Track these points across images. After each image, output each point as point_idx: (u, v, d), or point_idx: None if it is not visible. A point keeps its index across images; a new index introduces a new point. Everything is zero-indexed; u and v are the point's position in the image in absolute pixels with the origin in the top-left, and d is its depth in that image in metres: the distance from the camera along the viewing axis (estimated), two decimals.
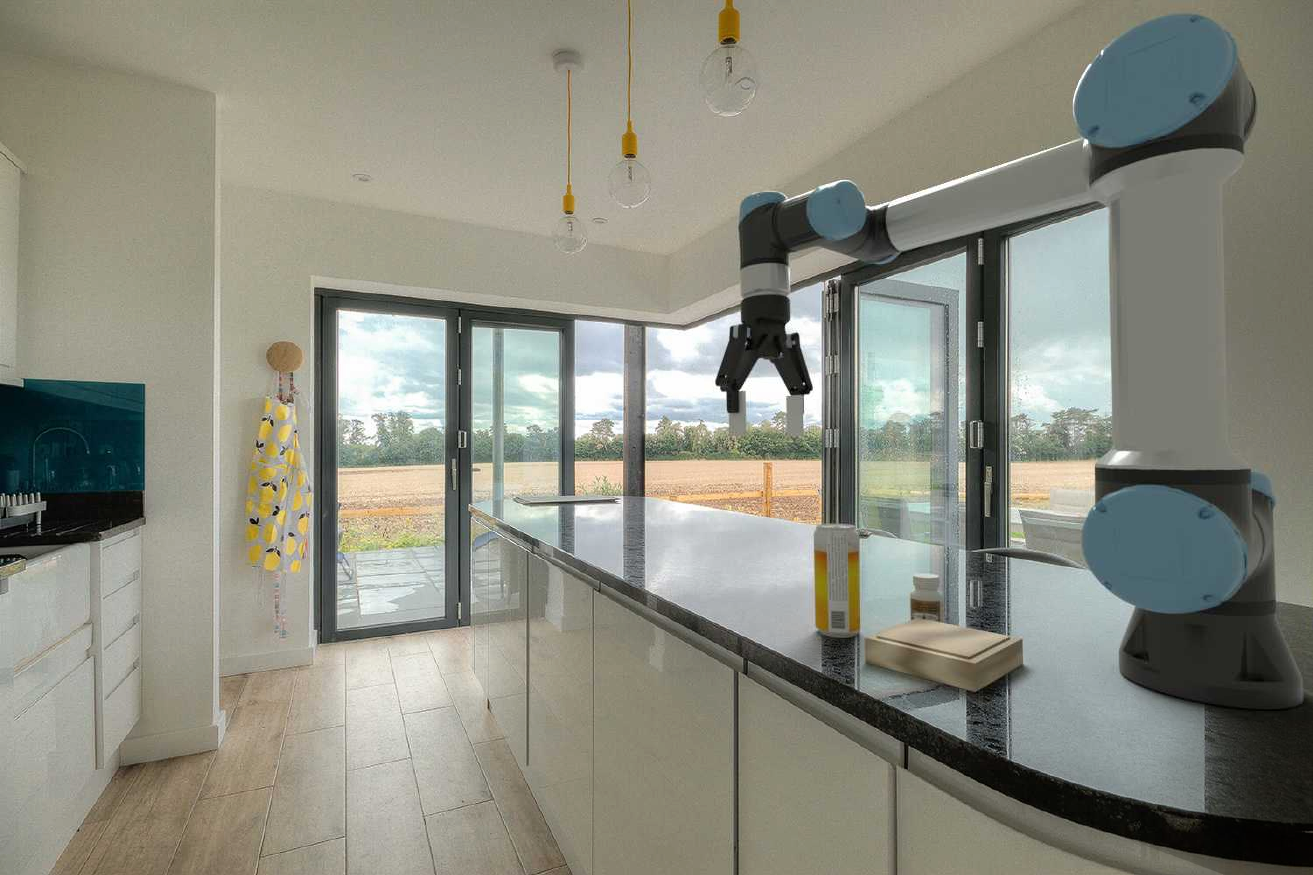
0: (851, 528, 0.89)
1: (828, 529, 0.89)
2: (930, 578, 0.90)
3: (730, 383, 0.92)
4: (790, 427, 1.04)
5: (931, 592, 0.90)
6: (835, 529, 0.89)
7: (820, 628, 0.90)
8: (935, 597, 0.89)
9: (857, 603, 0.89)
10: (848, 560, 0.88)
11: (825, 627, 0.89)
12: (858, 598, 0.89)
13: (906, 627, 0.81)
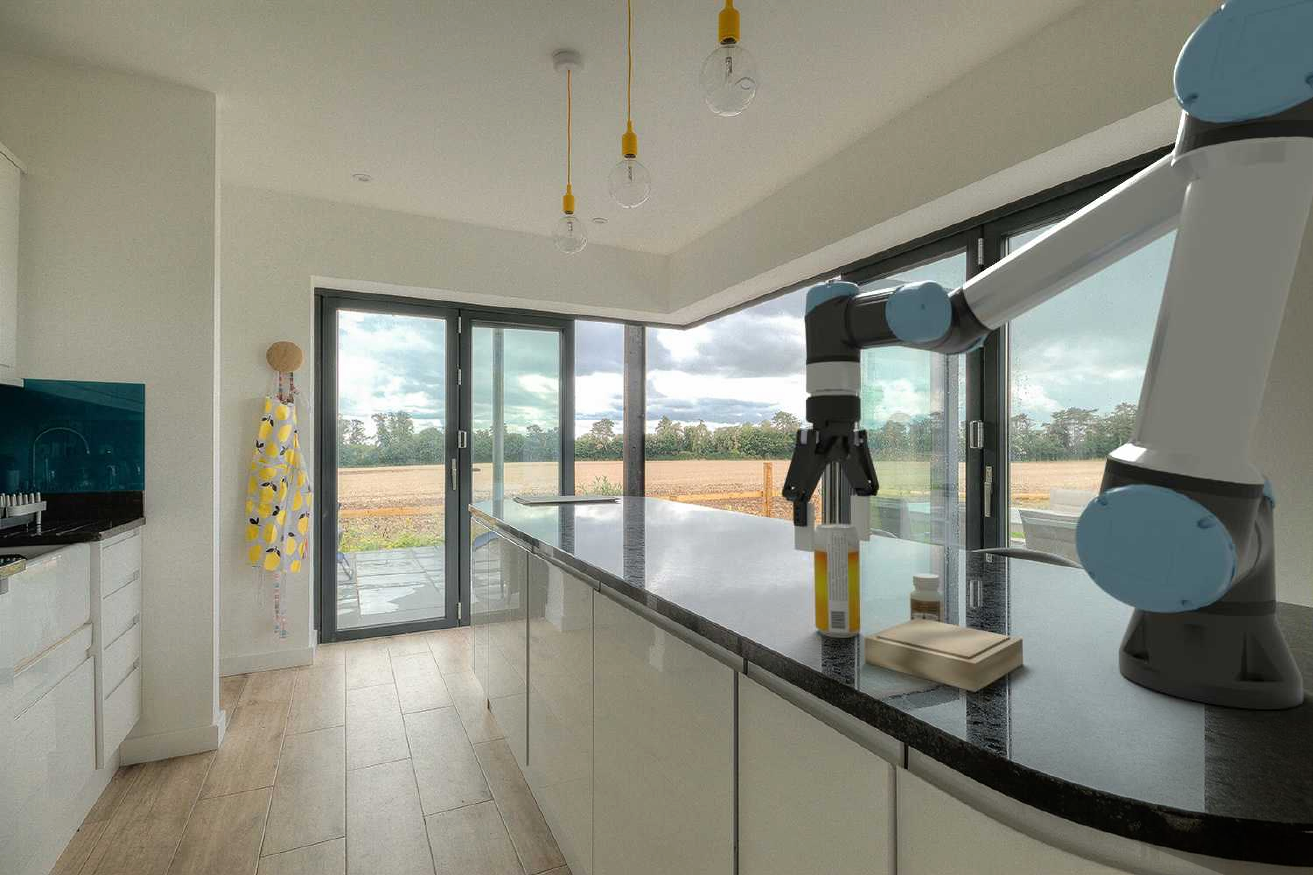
0: (851, 528, 0.89)
1: (828, 529, 0.89)
2: (930, 578, 0.90)
3: (799, 497, 0.84)
4: None
5: (931, 592, 0.90)
6: (835, 529, 0.89)
7: (820, 628, 0.90)
8: (935, 597, 0.89)
9: (857, 603, 0.89)
10: (848, 560, 0.88)
11: (825, 627, 0.89)
12: (858, 598, 0.89)
13: (906, 627, 0.81)
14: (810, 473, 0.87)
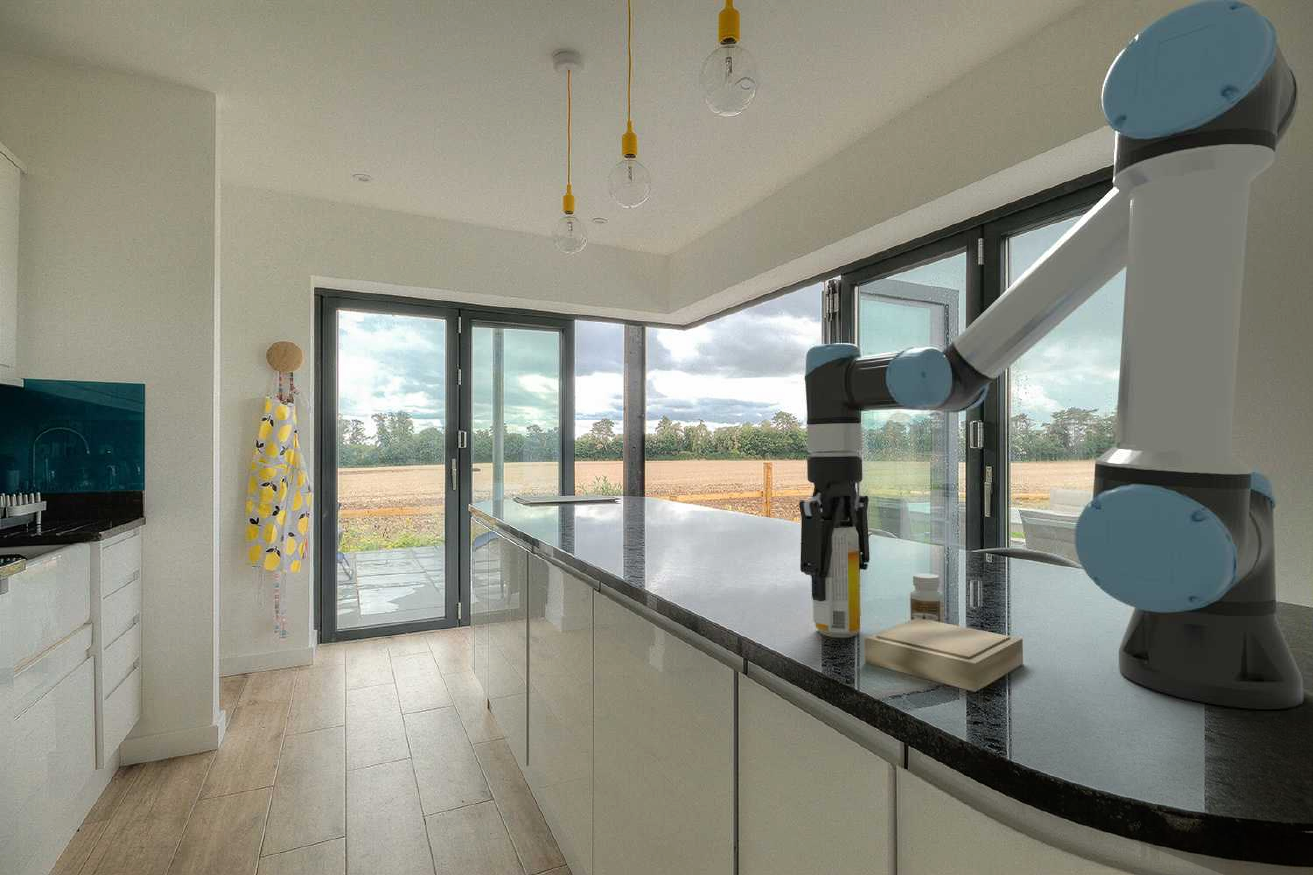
0: (851, 528, 0.89)
1: None
2: (930, 578, 0.90)
3: (818, 572, 0.86)
4: None
5: (931, 592, 0.90)
6: (835, 529, 0.89)
7: (820, 628, 0.90)
8: (935, 597, 0.89)
9: (857, 603, 0.89)
10: (848, 560, 0.88)
11: (824, 627, 0.89)
12: (858, 598, 0.89)
13: (906, 627, 0.81)
14: (822, 545, 0.88)
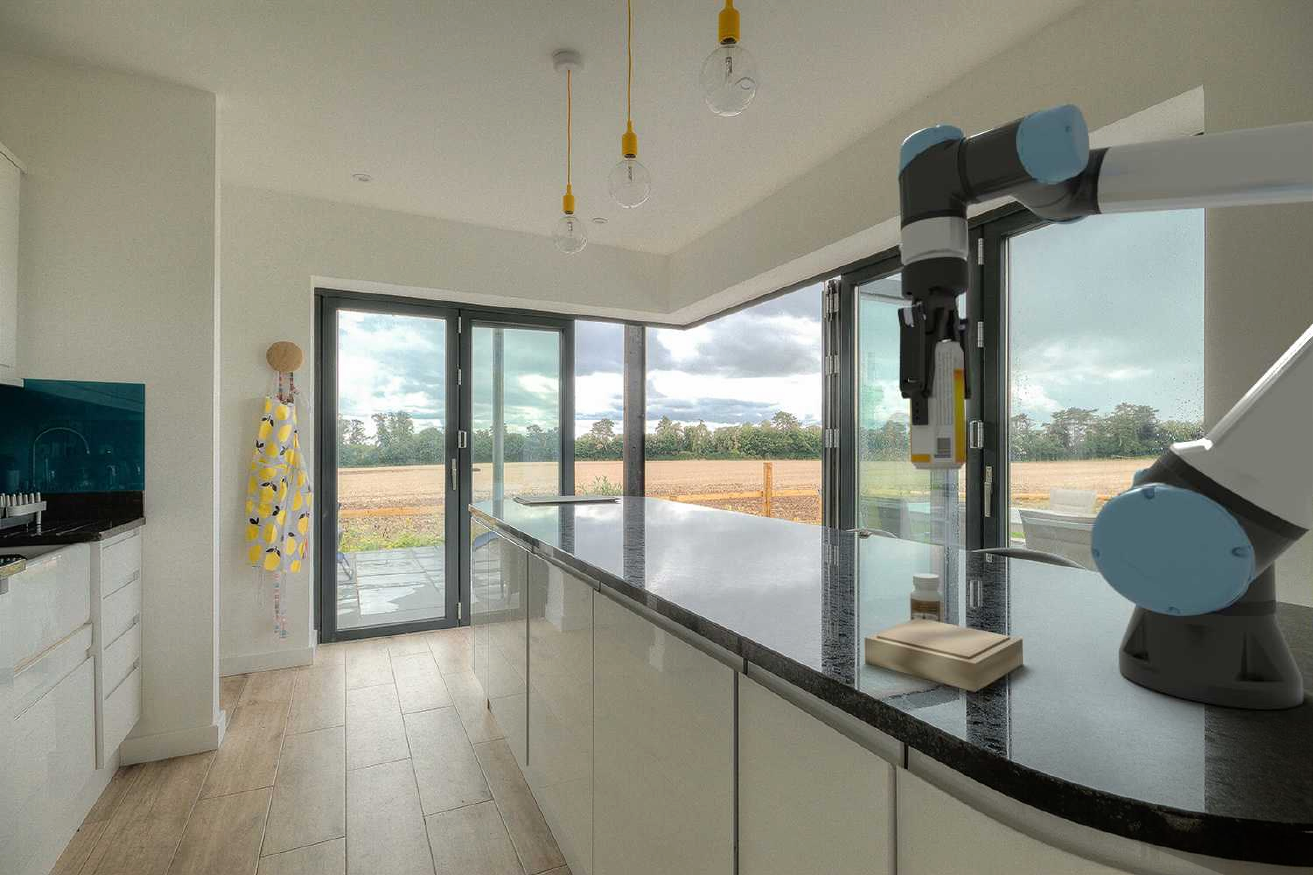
0: (956, 343, 0.76)
1: None
2: (930, 578, 0.90)
3: (922, 388, 0.73)
4: None
5: (931, 592, 0.90)
6: (938, 343, 0.76)
7: (919, 461, 0.77)
8: (935, 597, 0.89)
9: (963, 430, 0.76)
10: (954, 378, 0.75)
11: (925, 458, 0.76)
12: (964, 425, 0.76)
13: (906, 627, 0.81)
14: None
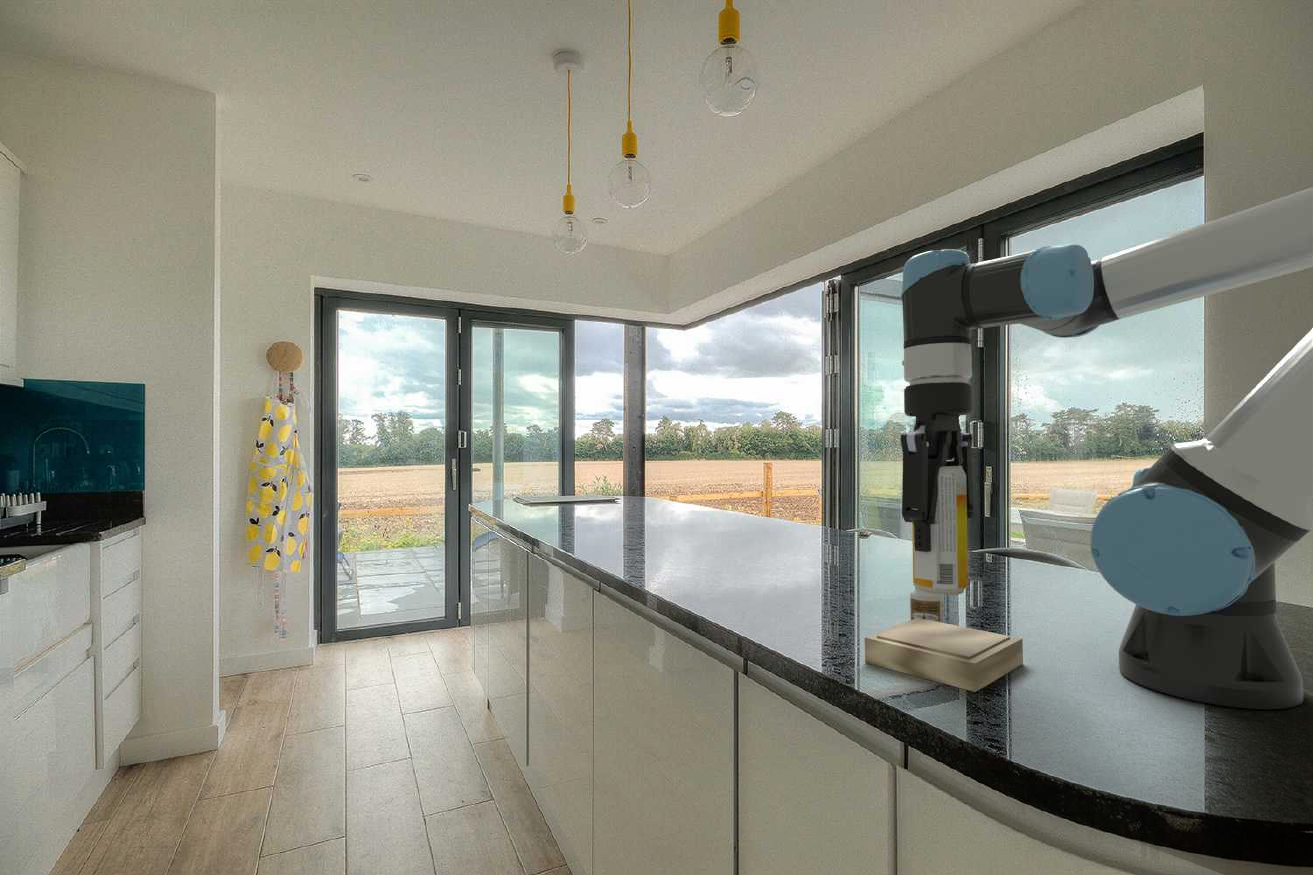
0: (959, 467, 0.76)
1: None
2: None
3: (925, 517, 0.73)
4: None
5: None
6: (941, 468, 0.75)
7: (921, 584, 0.77)
8: (935, 597, 0.89)
9: (966, 555, 0.76)
10: (957, 504, 0.75)
11: (928, 583, 0.76)
12: (967, 549, 0.76)
13: (906, 627, 0.81)
14: None
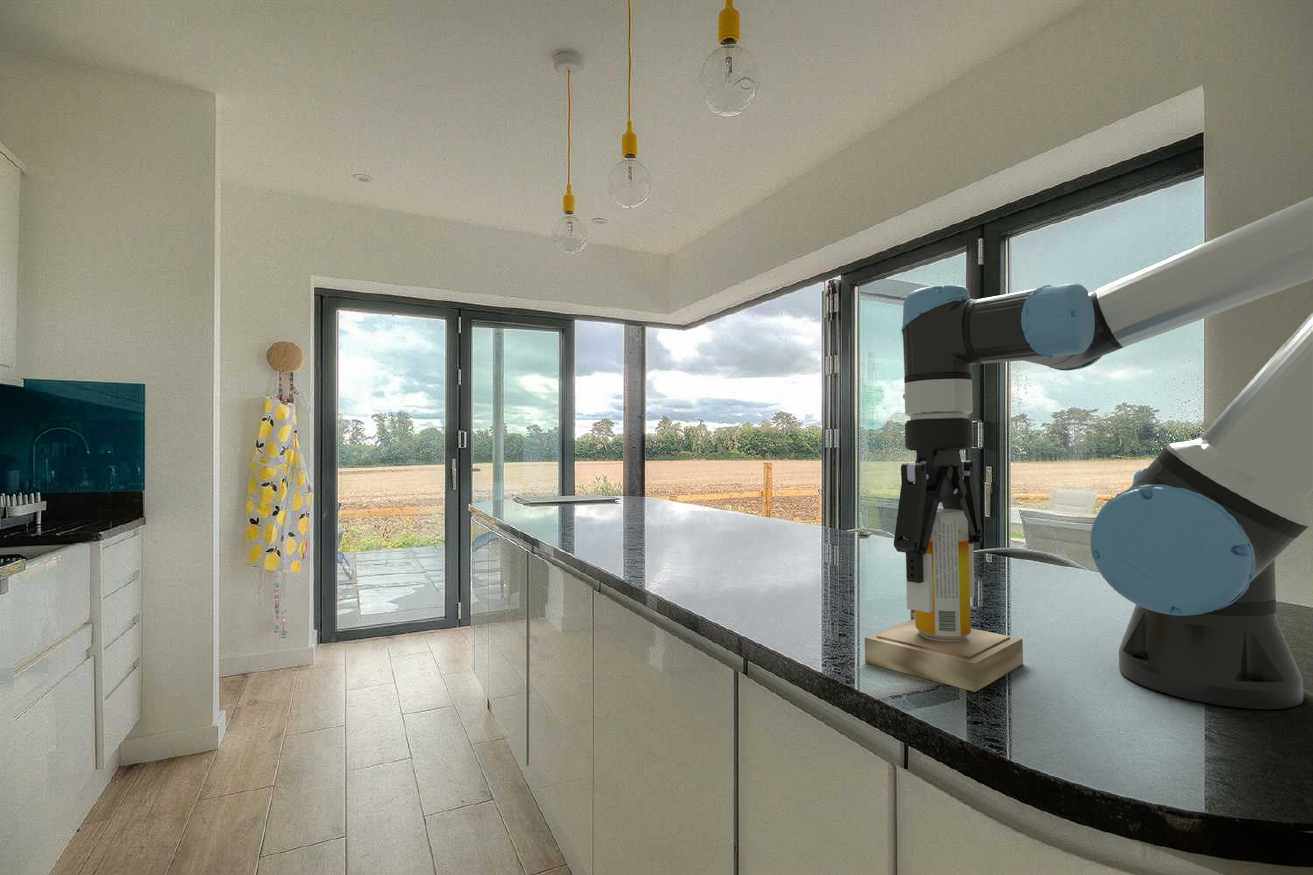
0: (961, 513, 0.76)
1: None
2: None
3: (917, 548, 0.72)
4: None
5: None
6: (942, 514, 0.75)
7: (924, 631, 0.76)
8: None
9: (968, 601, 0.76)
10: (958, 551, 0.75)
11: (930, 629, 0.76)
12: (969, 595, 0.76)
13: (906, 627, 0.81)
14: None
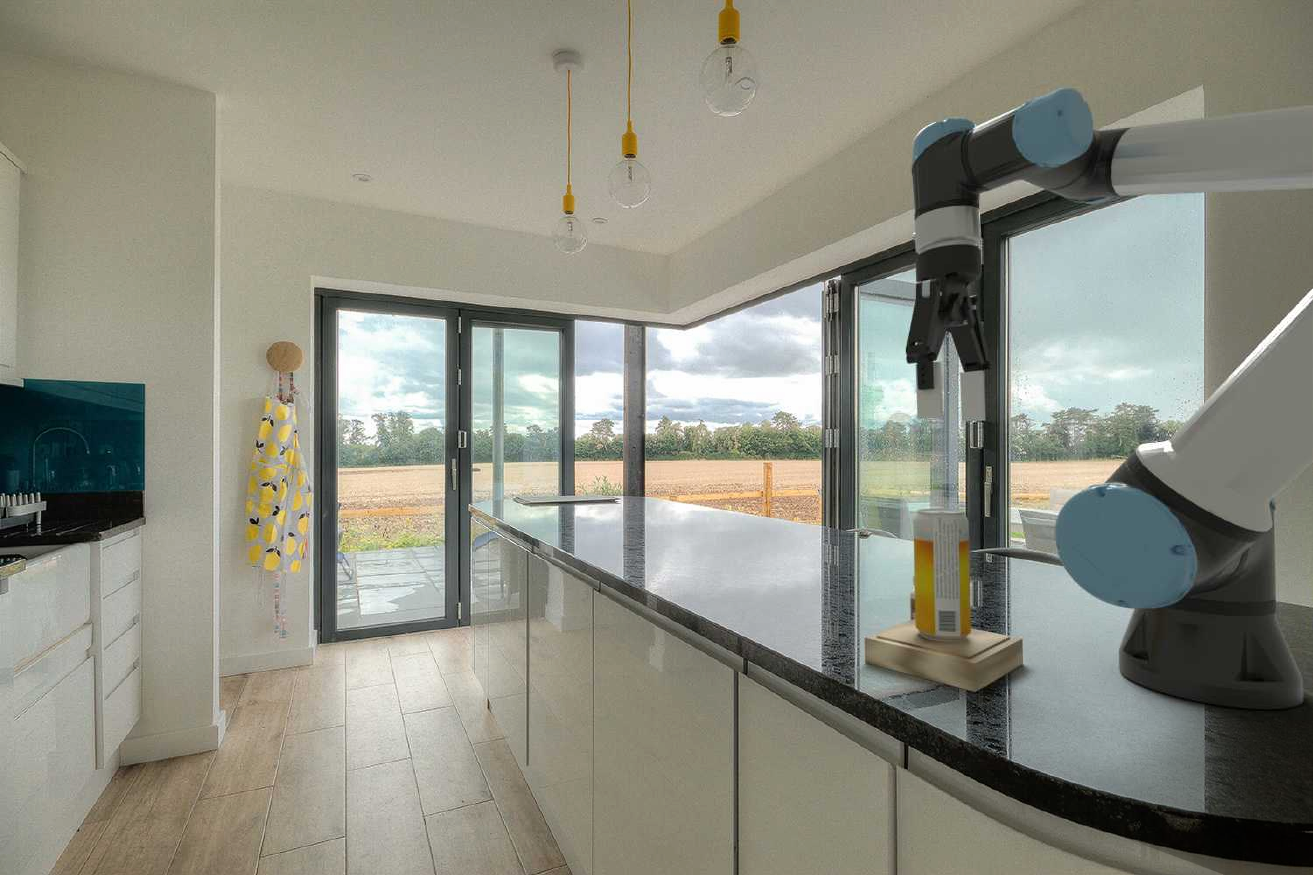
0: (961, 513, 0.76)
1: (934, 514, 0.76)
2: None
3: (928, 351, 0.73)
4: (967, 410, 0.86)
5: None
6: (943, 514, 0.75)
7: (924, 631, 0.76)
8: None
9: (968, 601, 0.76)
10: (959, 551, 0.75)
11: (930, 629, 0.76)
12: (969, 595, 0.76)
13: (906, 627, 0.81)
14: None
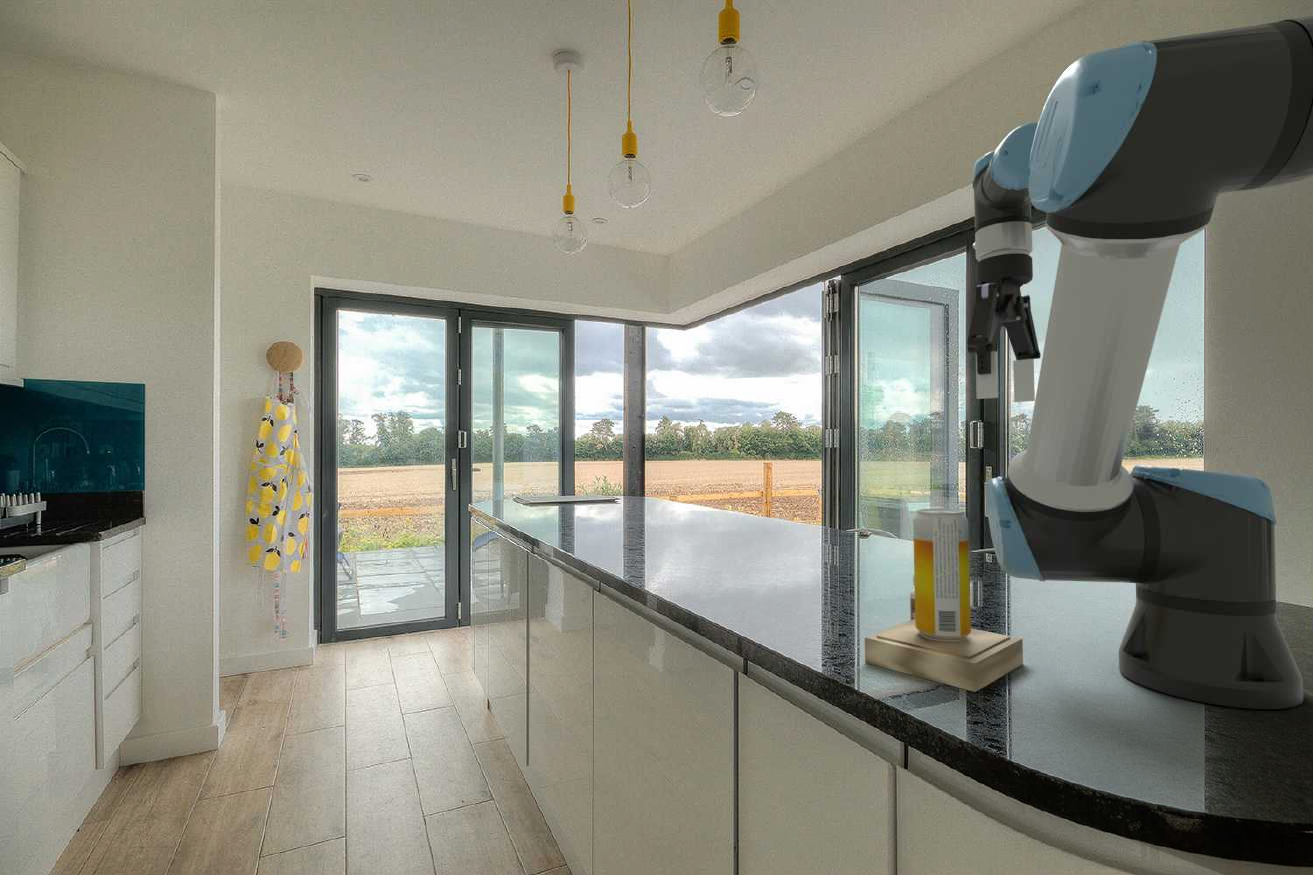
0: (961, 513, 0.76)
1: (934, 514, 0.76)
2: None
3: (987, 343, 0.90)
4: (1019, 392, 1.01)
5: None
6: (943, 514, 0.75)
7: (924, 631, 0.76)
8: None
9: (968, 601, 0.76)
10: (959, 551, 0.75)
11: (930, 629, 0.76)
12: (969, 595, 0.76)
13: (906, 627, 0.81)
14: None
